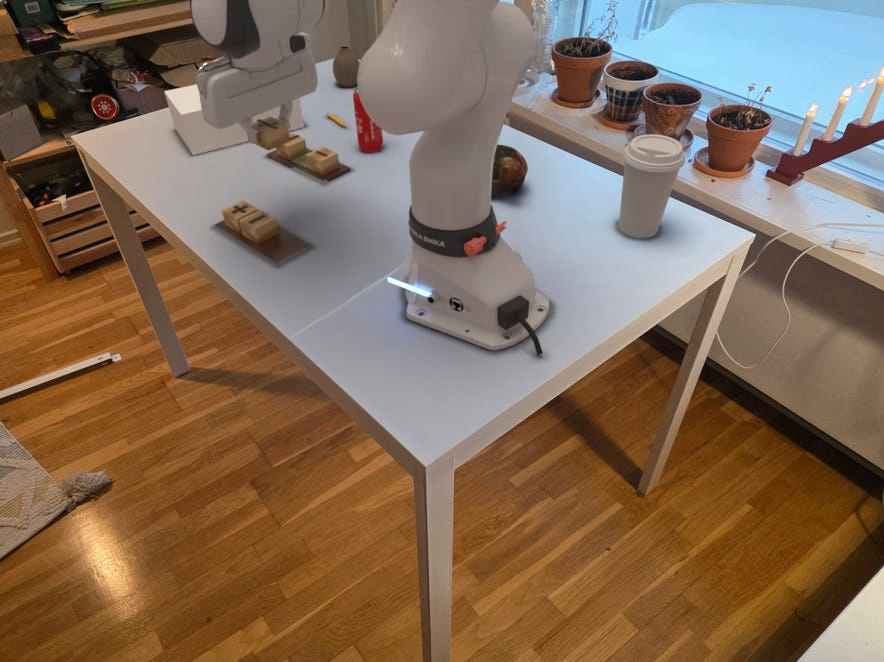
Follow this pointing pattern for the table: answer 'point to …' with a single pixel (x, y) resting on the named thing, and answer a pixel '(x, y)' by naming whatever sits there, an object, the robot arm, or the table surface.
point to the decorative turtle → (508, 170)
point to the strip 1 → (271, 245)
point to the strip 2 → (309, 159)
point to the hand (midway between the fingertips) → (270, 135)
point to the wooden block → (271, 132)
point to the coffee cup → (648, 182)
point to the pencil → (336, 119)
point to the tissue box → (205, 135)
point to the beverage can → (366, 128)
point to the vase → (346, 67)
